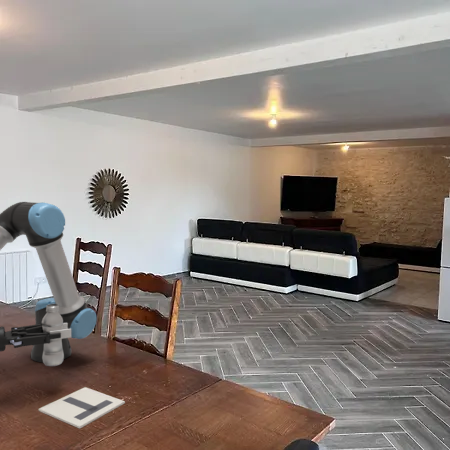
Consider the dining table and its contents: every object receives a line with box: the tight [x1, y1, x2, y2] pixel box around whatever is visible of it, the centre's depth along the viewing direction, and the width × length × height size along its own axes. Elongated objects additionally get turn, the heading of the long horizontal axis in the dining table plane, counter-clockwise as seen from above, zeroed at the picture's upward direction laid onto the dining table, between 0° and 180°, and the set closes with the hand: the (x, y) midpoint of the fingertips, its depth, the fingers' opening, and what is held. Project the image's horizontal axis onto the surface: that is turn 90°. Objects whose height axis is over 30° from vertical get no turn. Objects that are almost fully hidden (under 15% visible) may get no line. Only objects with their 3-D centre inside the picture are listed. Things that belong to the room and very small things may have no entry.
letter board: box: [38, 386, 126, 430], centre depth 137 cm, size 18×18×1 cm
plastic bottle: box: [42, 304, 64, 367], centre depth 145 cm, size 6×7×20 cm
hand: (69, 329), depth 148 cm, fingers closed on plastic bottle, 6 cm apart
